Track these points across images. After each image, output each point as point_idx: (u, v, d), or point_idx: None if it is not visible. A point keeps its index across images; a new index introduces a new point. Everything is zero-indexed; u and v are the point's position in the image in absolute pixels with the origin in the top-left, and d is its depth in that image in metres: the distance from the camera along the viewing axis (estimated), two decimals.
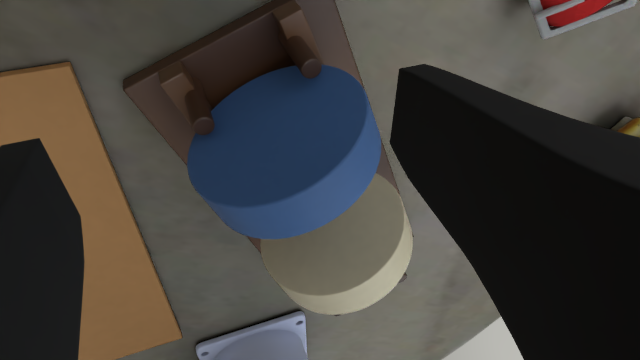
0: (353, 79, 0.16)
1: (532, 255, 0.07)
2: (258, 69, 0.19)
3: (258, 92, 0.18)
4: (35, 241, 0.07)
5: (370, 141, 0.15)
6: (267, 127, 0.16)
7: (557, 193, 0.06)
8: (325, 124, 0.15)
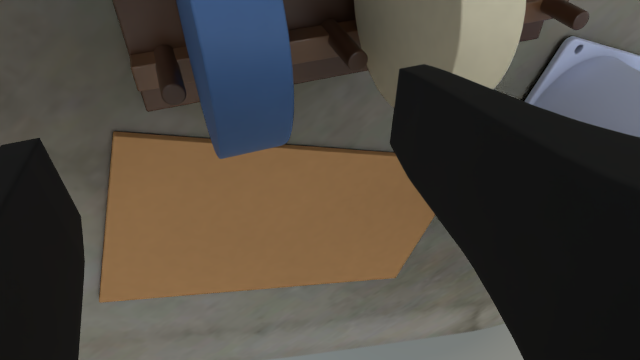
0: None
1: (532, 255, 0.07)
2: None
3: (178, 4, 0.14)
4: (35, 241, 0.07)
5: None
6: (190, 43, 0.13)
7: (557, 193, 0.06)
8: None
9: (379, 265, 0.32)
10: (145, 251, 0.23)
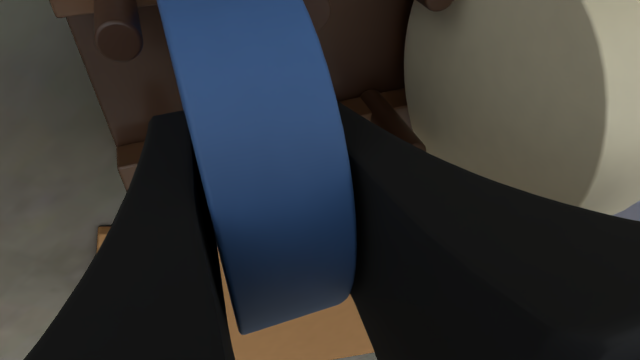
0: None
1: (389, 303, 0.07)
2: (167, 50, 0.11)
3: None
4: (202, 200, 0.07)
5: (238, 94, 0.06)
6: None
7: (396, 241, 0.06)
8: None
9: None
10: None
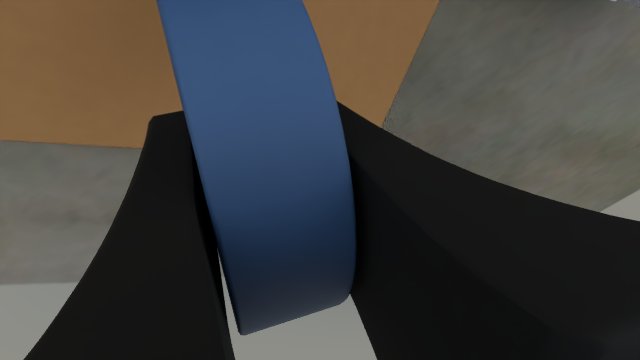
0: None
1: (388, 303, 0.07)
2: None
3: (179, 95, 0.11)
4: (202, 200, 0.07)
5: (238, 94, 0.06)
6: None
7: (396, 241, 0.06)
8: (187, 125, 0.07)
9: None
10: None
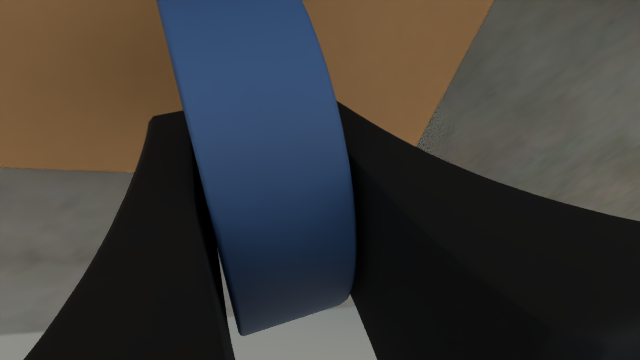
0: None
1: (388, 303, 0.07)
2: None
3: (179, 95, 0.11)
4: (202, 200, 0.07)
5: (238, 95, 0.06)
6: None
7: (396, 241, 0.06)
8: None
9: None
10: None
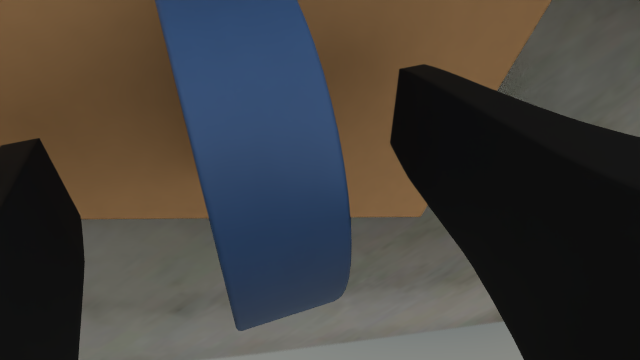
0: None
1: (532, 255, 0.07)
2: None
3: None
4: (35, 241, 0.07)
5: (235, 97, 0.06)
6: None
7: (557, 193, 0.06)
8: None
9: (393, 186, 0.18)
10: None
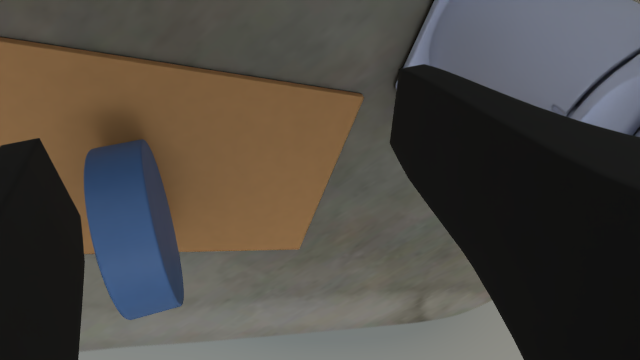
0: (84, 167, 0.16)
1: (532, 255, 0.07)
2: None
3: None
4: (35, 241, 0.07)
5: (111, 226, 0.15)
6: None
7: (557, 193, 0.06)
8: None
9: (272, 231, 0.27)
10: None
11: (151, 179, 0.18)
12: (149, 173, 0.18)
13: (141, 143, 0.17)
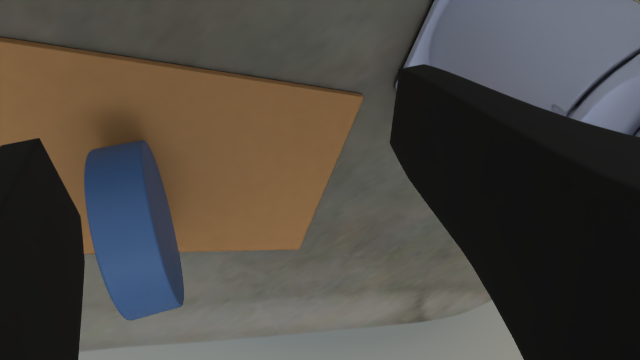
0: None
1: (532, 255, 0.07)
2: None
3: None
4: (35, 241, 0.07)
5: (111, 227, 0.15)
6: None
7: (557, 193, 0.06)
8: None
9: (272, 231, 0.27)
10: None
11: (151, 180, 0.18)
12: (149, 174, 0.18)
13: (141, 144, 0.17)
